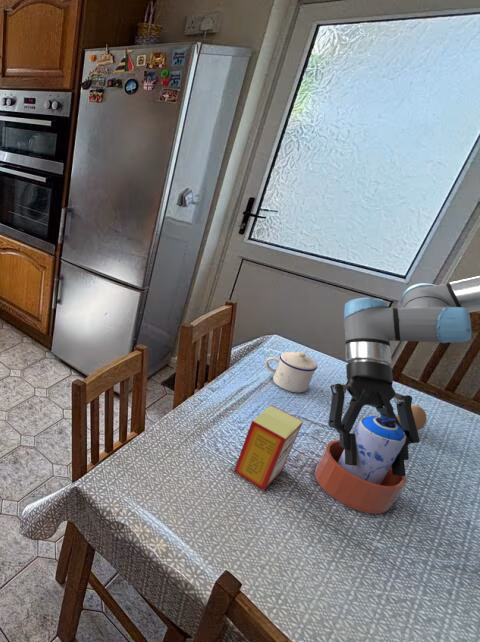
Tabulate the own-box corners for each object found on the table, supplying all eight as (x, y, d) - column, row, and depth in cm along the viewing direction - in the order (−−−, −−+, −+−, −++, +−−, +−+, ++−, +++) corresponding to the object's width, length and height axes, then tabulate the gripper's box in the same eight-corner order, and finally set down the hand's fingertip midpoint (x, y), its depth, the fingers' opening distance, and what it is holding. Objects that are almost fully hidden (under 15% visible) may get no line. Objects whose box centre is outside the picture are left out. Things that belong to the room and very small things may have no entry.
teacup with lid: (309, 383, 128) (322, 351, 123) (306, 397, 121) (319, 365, 116) (263, 368, 135) (274, 337, 130) (258, 381, 129) (269, 350, 124)
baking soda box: (252, 453, 103) (271, 403, 97) (282, 470, 98) (304, 419, 92) (233, 471, 99) (252, 420, 92) (263, 490, 94) (285, 438, 87)
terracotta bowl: (388, 483, 95) (403, 458, 91) (392, 525, 86) (409, 499, 82) (316, 455, 102) (327, 431, 99) (312, 490, 93) (325, 465, 90)
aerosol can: (374, 482, 94) (413, 415, 85) (375, 506, 89) (416, 437, 80) (331, 464, 99) (363, 399, 90) (328, 486, 93) (363, 419, 85)
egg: (423, 438, 107) (437, 415, 103) (398, 434, 108) (411, 411, 105) (411, 425, 111) (424, 402, 108) (387, 420, 113) (399, 398, 109)
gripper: (413, 376, 94) (423, 482, 87) (307, 359, 101) (308, 457, 94) (438, 370, 87) (451, 485, 81) (323, 353, 94) (325, 457, 87)
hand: (374, 469), depth 87 cm, fingers closed on aerosol can, 7 cm apart
